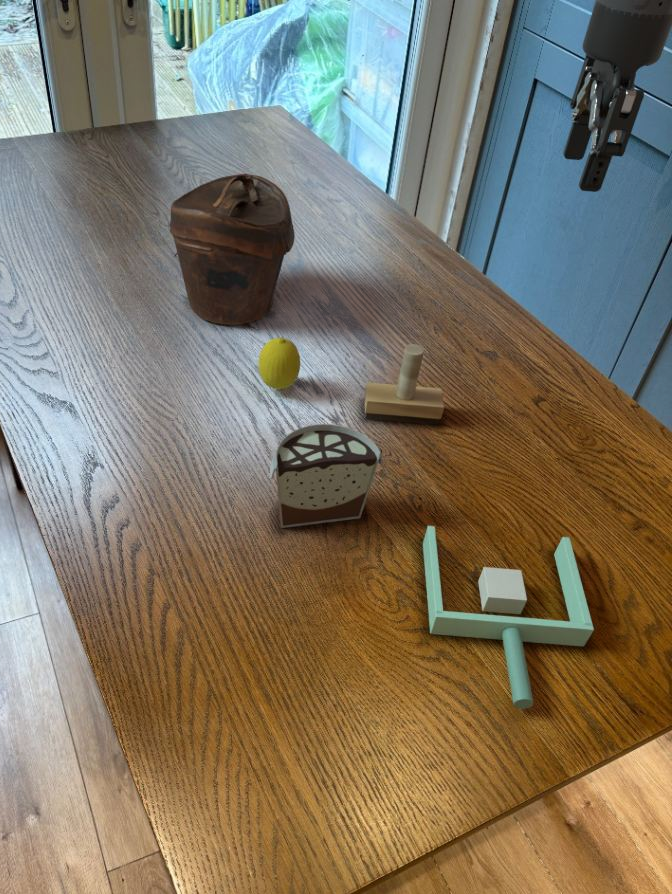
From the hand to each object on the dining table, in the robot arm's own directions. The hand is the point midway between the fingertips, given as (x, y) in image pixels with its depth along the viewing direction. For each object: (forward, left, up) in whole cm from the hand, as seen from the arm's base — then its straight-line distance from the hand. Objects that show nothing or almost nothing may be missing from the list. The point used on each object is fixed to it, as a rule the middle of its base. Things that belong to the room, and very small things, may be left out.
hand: (580, 173), depth 83 cm
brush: (+16, +4, -30) cm, 34 cm away
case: (+37, -24, -30) cm, 53 cm away
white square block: (+12, +35, -30) cm, 48 cm away
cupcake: (+30, +20, -30) cm, 47 cm away
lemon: (+32, -2, -30) cm, 44 cm away
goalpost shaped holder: (+13, +38, -30) cm, 50 cm away
